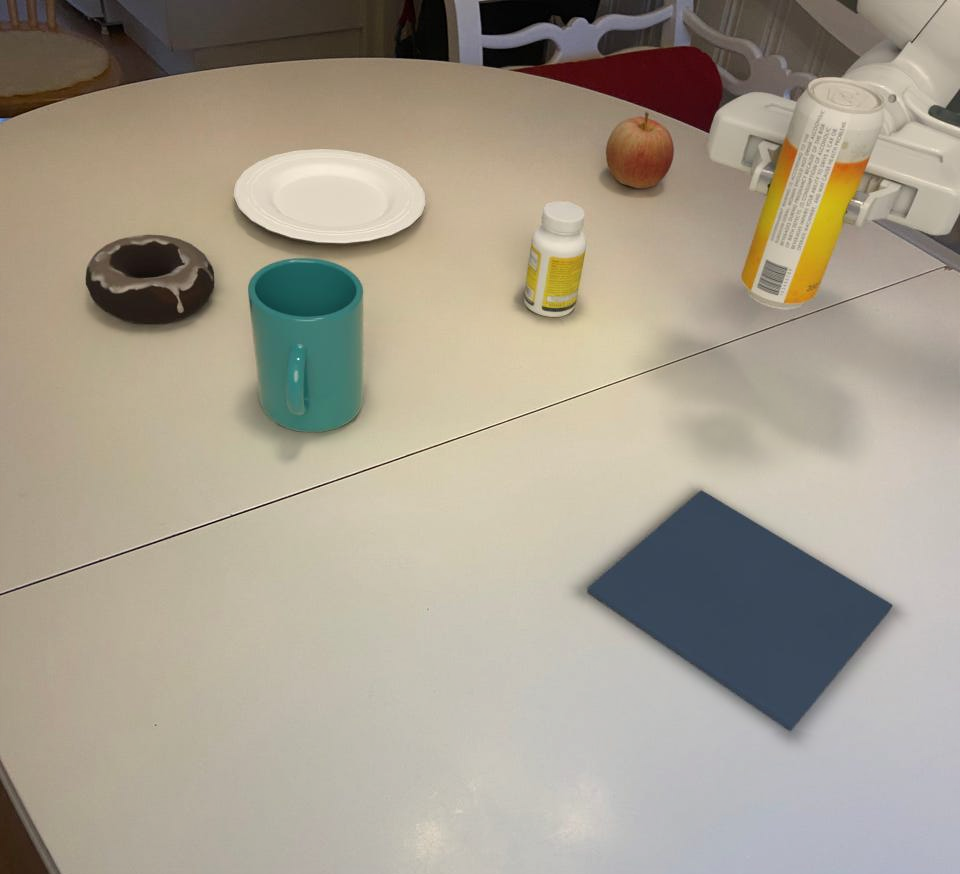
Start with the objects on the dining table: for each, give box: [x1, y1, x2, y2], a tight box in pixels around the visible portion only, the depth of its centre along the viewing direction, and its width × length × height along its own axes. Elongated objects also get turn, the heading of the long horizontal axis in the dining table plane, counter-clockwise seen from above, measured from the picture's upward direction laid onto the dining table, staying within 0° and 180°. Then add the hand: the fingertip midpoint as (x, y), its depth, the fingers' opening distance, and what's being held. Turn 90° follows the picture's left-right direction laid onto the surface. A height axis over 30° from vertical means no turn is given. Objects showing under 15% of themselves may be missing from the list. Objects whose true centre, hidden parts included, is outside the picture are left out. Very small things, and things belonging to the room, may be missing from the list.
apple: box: [605, 111, 675, 189], centre depth 114 cm, size 8×8×8 cm
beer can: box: [741, 76, 885, 310], centre depth 71 cm, size 6×6×15 cm
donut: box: [85, 234, 215, 325], centre depth 91 cm, size 12×12×4 cm
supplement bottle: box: [523, 200, 588, 318], centre depth 94 cm, size 5×5×10 cm
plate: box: [233, 148, 427, 246], centre depth 106 cm, size 21×21×2 cm
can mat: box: [587, 489, 893, 731], centre depth 74 cm, size 18×16×1 cm
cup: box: [247, 257, 365, 433], centre depth 79 cm, size 9×12×11 cm
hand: (807, 199), depth 71 cm, fingers closed on beer can, 6 cm apart
